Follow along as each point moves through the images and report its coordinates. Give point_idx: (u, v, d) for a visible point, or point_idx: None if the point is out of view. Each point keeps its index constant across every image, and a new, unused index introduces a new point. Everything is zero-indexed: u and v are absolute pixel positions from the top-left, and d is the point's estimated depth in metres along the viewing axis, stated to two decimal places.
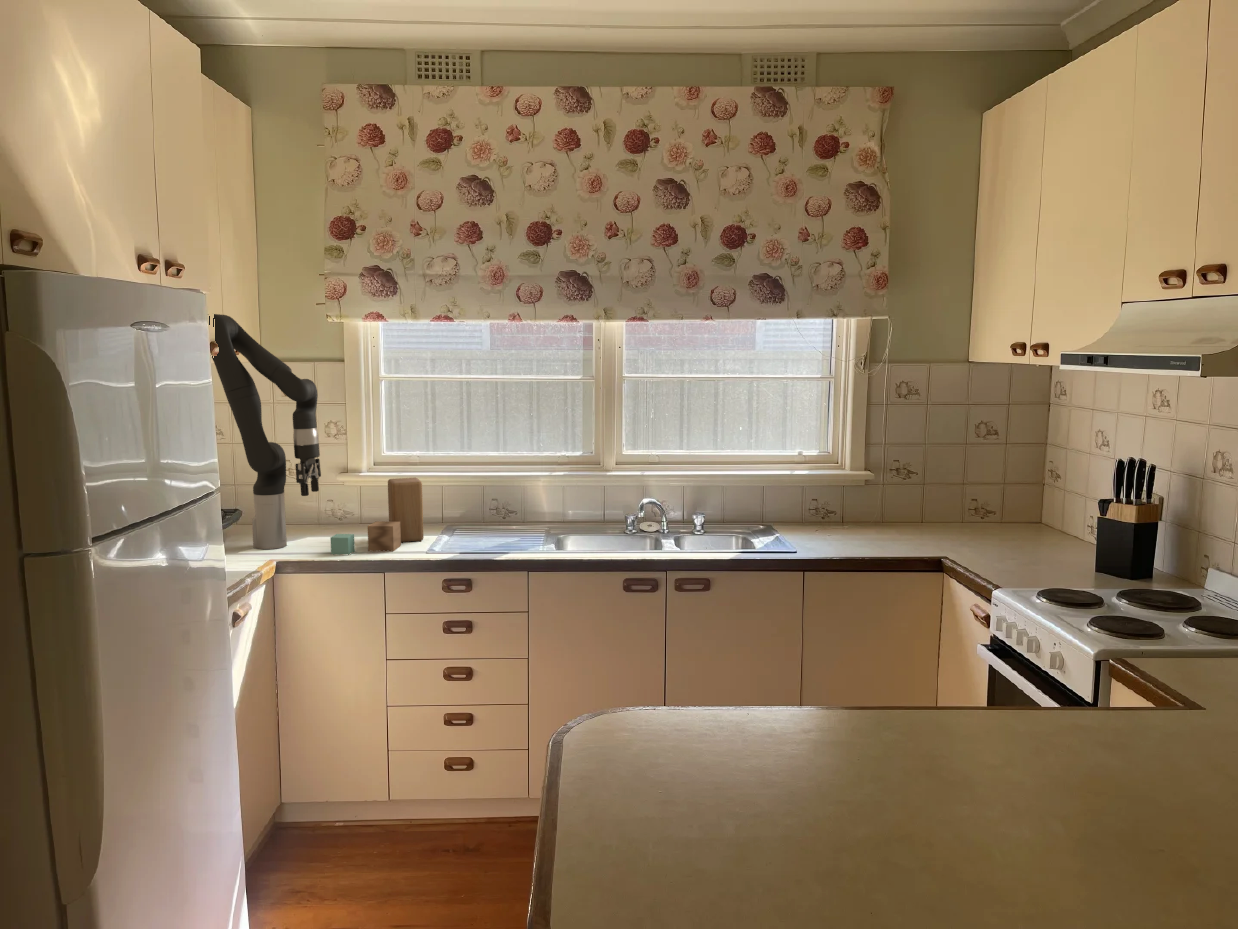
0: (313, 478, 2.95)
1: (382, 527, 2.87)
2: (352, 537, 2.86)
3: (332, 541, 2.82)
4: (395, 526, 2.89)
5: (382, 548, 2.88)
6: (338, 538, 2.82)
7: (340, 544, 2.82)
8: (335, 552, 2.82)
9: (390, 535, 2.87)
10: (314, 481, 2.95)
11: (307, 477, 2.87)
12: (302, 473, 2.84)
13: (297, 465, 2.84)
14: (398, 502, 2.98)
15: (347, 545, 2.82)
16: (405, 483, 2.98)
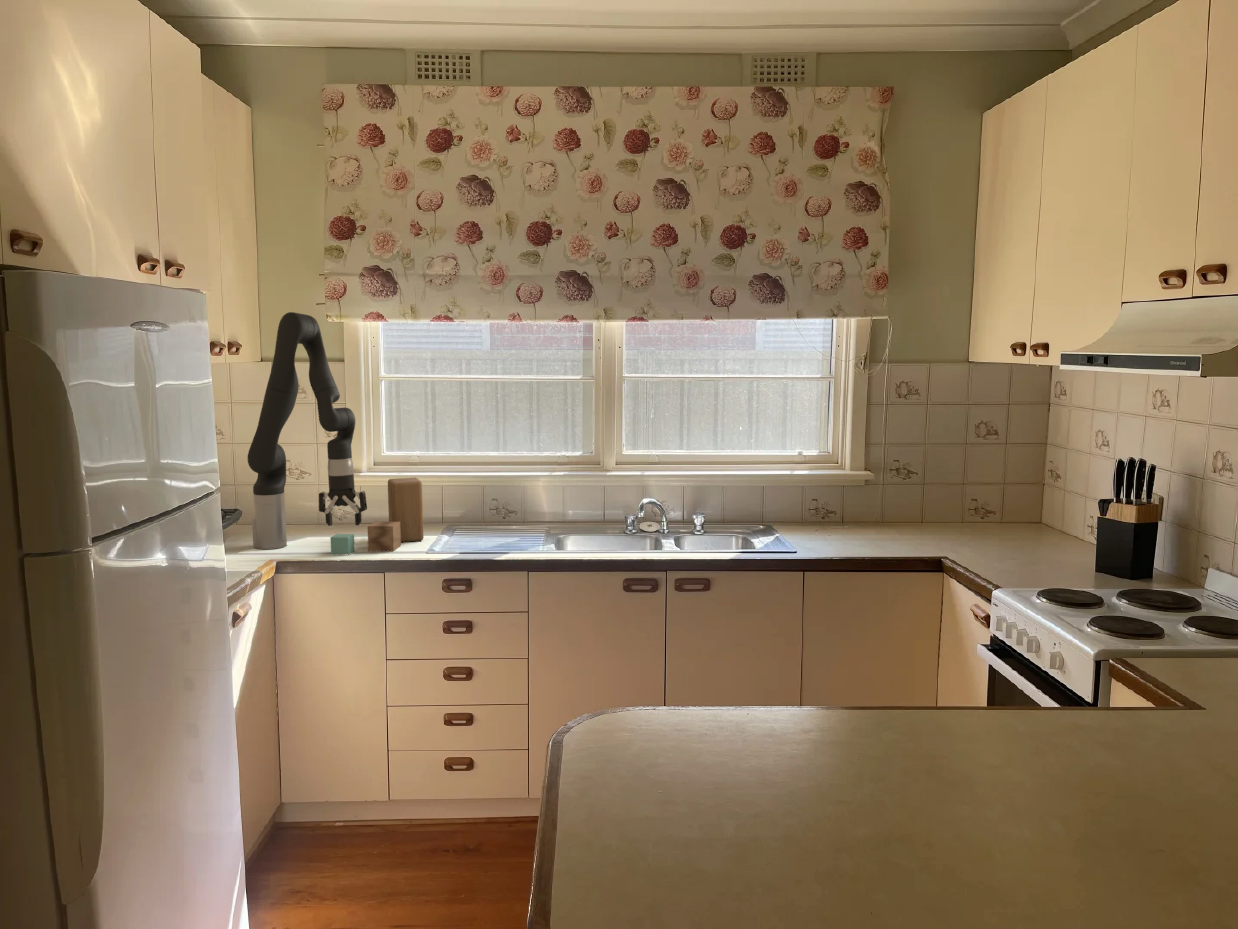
0: (329, 511, 2.84)
1: (382, 527, 2.87)
2: (352, 537, 2.86)
3: (332, 541, 2.82)
4: (395, 526, 2.89)
5: (382, 548, 2.88)
6: (338, 538, 2.82)
7: (340, 544, 2.82)
8: (335, 552, 2.82)
9: (390, 535, 2.87)
10: (330, 514, 2.84)
11: (357, 505, 2.85)
12: (365, 500, 2.84)
13: (363, 493, 2.82)
14: (398, 502, 2.98)
15: (347, 545, 2.82)
16: (405, 483, 2.98)
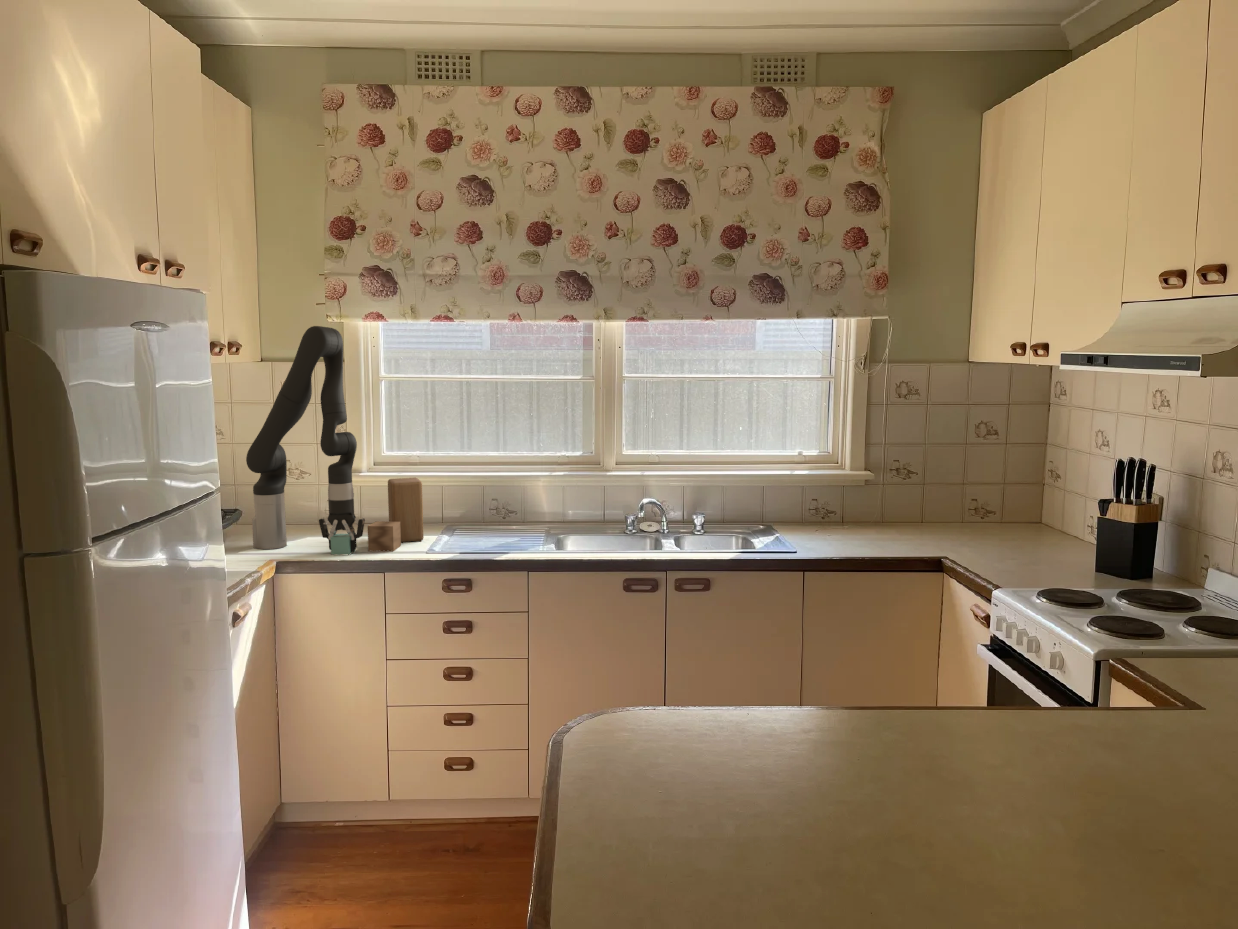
0: None
1: (382, 527, 2.87)
2: None
3: (332, 541, 2.82)
4: (395, 526, 2.89)
5: (382, 548, 2.88)
6: (338, 538, 2.82)
7: (340, 544, 2.82)
8: (335, 552, 2.82)
9: (390, 535, 2.87)
10: None
11: None
12: (363, 528, 2.85)
13: (362, 521, 2.83)
14: (398, 502, 2.98)
15: (348, 545, 2.82)
16: (405, 483, 2.98)
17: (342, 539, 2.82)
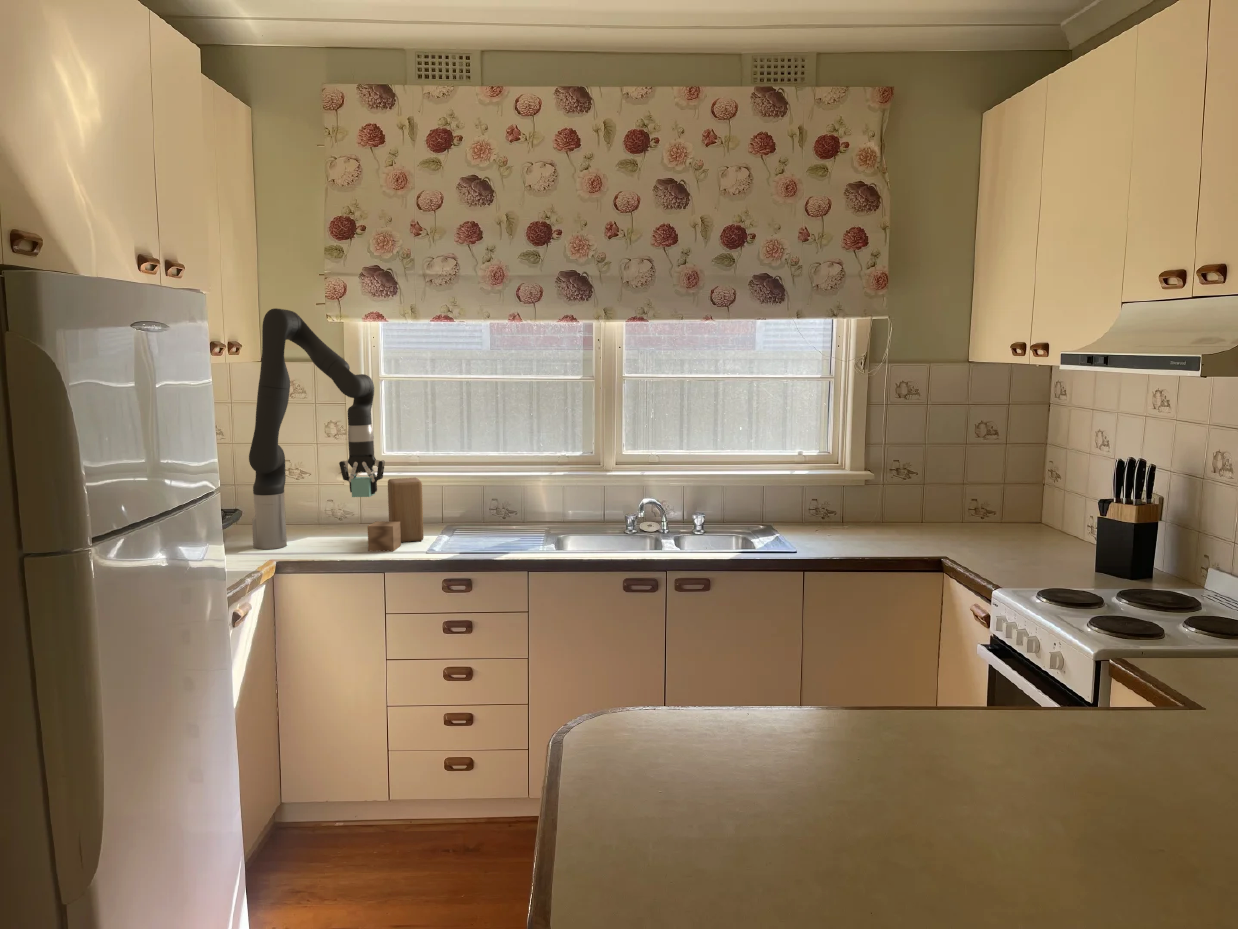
0: None
1: (382, 527, 2.87)
2: None
3: (353, 483, 2.83)
4: (395, 526, 2.89)
5: (382, 548, 2.88)
6: (358, 480, 2.83)
7: (361, 486, 2.83)
8: (356, 494, 2.83)
9: (390, 535, 2.87)
10: None
11: (374, 474, 2.86)
12: (383, 470, 2.86)
13: (382, 462, 2.84)
14: (398, 502, 2.98)
15: (368, 487, 2.83)
16: (405, 483, 2.98)
17: (362, 481, 2.83)
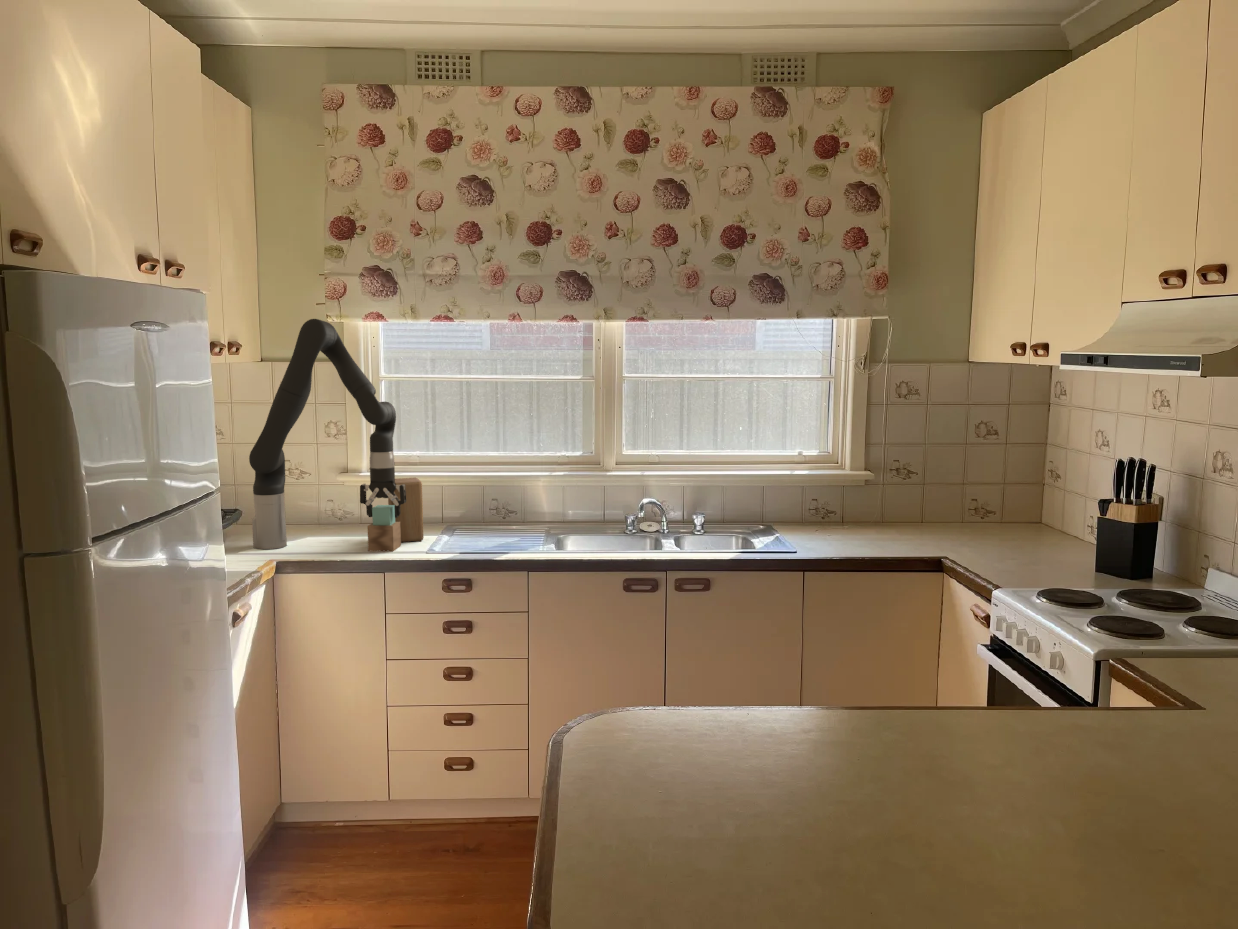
0: (370, 503, 2.90)
1: (382, 527, 2.87)
2: (393, 508, 2.91)
3: (374, 511, 2.88)
4: (395, 526, 2.89)
5: (382, 548, 2.88)
6: (380, 508, 2.88)
7: (381, 514, 2.88)
8: (377, 522, 2.88)
9: (390, 535, 2.87)
10: (371, 506, 2.90)
11: None
12: (405, 493, 2.90)
13: (403, 486, 2.88)
14: None
15: (389, 516, 2.88)
16: (405, 483, 2.98)
17: (383, 510, 2.87)
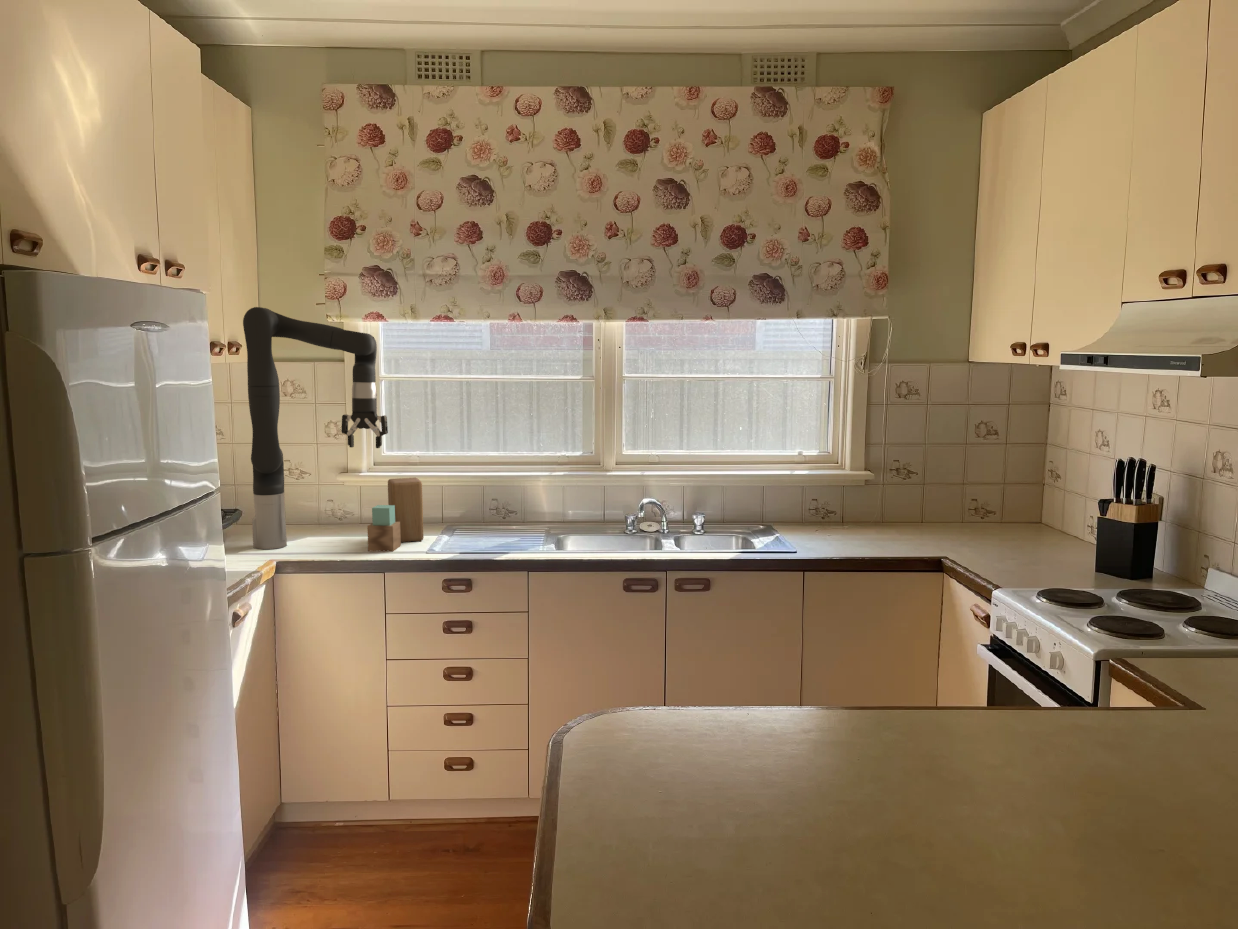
0: (351, 433, 2.93)
1: (382, 527, 2.87)
2: (393, 508, 2.91)
3: (373, 511, 2.88)
4: (395, 526, 2.89)
5: (382, 548, 2.88)
6: (379, 509, 2.87)
7: (381, 514, 2.88)
8: (376, 522, 2.88)
9: (390, 535, 2.87)
10: (352, 436, 2.93)
11: (378, 429, 2.94)
12: None
13: (384, 417, 2.91)
14: (398, 502, 2.98)
15: (389, 516, 2.87)
16: (405, 483, 2.98)
17: (383, 510, 2.87)
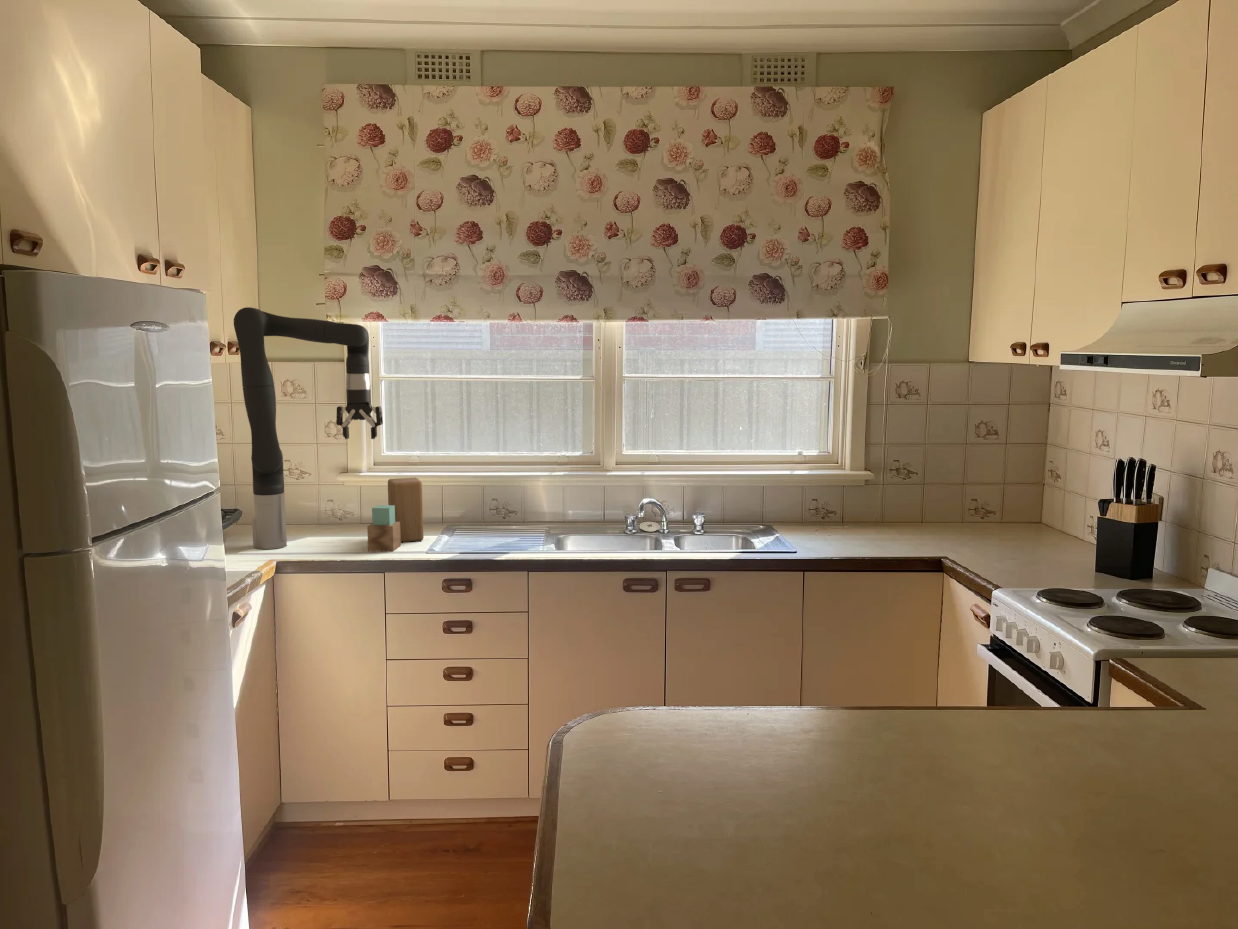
0: (346, 425, 2.94)
1: (382, 527, 2.87)
2: (393, 508, 2.91)
3: (373, 511, 2.88)
4: (395, 526, 2.89)
5: (382, 548, 2.88)
6: (379, 509, 2.87)
7: (381, 514, 2.88)
8: (376, 522, 2.88)
9: (390, 535, 2.87)
10: (347, 428, 2.95)
11: (373, 420, 2.95)
12: (381, 415, 2.94)
13: (379, 408, 2.93)
14: (398, 502, 2.98)
15: (388, 516, 2.87)
16: (405, 483, 2.98)
17: (383, 510, 2.87)
